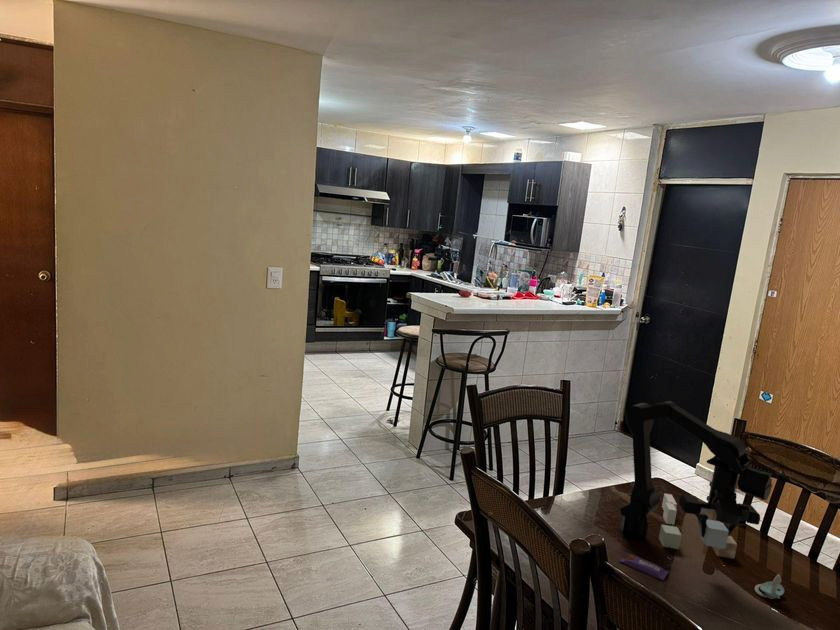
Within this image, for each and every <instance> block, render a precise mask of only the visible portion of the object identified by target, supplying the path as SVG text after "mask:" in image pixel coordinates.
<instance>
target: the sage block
mask: <svg viewBox="0 0 840 630" xmlns="http://www.w3.org/2000/svg"><path fill="white" fill-rule="evenodd" d="M659 529H660V530H659V536H658V540H659V542H660V544H661V546H662V547H664V548H669V547H670V548H669V549H674V550H675V549H676V550H679V549H680V545H681V542H682V541H681V540H682V533H681V531H680V530H679V528H678V527H677V526H674V525H668V524H667V525H666V524H661V525H660V528H659Z"/></svg>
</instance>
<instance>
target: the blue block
mask: <svg viewBox="0 0 840 630" xmlns="http://www.w3.org/2000/svg"><path fill="white" fill-rule="evenodd" d="M728 533H729V531H728V529H727V528H726V527H725V525H724V523H722V522H720V521H719V520H713V519H708V520H707V521H706V530H705V535H704V537H702V536H701V532H699V537H700V539H701V541H702V542H703V544H704V546H707V547H711V548H712V547H718V548H724V549H725V548H726V543H727V538H728Z"/></svg>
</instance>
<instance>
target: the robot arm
mask: <svg viewBox="0 0 840 630" xmlns="http://www.w3.org/2000/svg"><path fill="white" fill-rule="evenodd" d="M659 418H666V419H667V420H669V421H671V422H673V423H674V424H675V425H676V426H678V427H680V428H681V429H682V430H684V431H686V432H687V433H688V434H690V435H692V436H693V437H694V438H696V439H697V440H700V441H701V442H702V443H704V445H705V446H706V447H707V449H708V450H709V451H710V452H711V453H712V455H714V456H713V457H710V458H709V459H707V460H706V464H708V465H711V466H714V468H713V473H712V478H711V481H709V485H708V486H709V487H710V488H709V489H710V490H709V495H707V496H706V501H707V502H704V501H699V499H698V498H697V496H696V495H695V496H694V495H691V494H690V495H688V494H682V495H681V496H679V499H678V505H679V506H680V507H681V509H682V511H683V512H684V513H686V514H691V515H694V516H695V517H696V518H697V521H698V527H699V531H700V532H701V536H702V537H704V535H705V530H706V521H707V520H709V516H708V514H707V513H708V511H709V512H714V513H716V516H717V521H720V522H722V523H723V524H724V525H725V527H726V528H727V529H728V531H729V533H728V536H731V535H730V534H732V532H733V531H734V530H735V528H737V527H739V526H745V525H746V523H747V524H752V525H759V524H760V523H761V516H760V515H761V514H760V513H758V511H757V509H756V508H754V506H753V505H751V504H745V503H738V501H737V493H736V488H738V490H740V492H742V493H745V494H747V495H750V496H752V497H755V498H758V499H761V500H763V501H767V500H768V498H769V497H770V495H771V491H772V488H773V484H772V480H773V479H772V473H771V472H767V471H762V470H759V469H756V468H753V467H752V466H753V464H752V462H751V460H750V458H749V456H748V453H747V450H746V445H745V443H744V442H743V440H742V439H741V438H739V437H736V436H735V435H733V434H730V433H727V432H725V431H721V430H719V429H718V430H717V429H715V428H713V427H712V426H710V425H708V424H706V422H704V421H702V419H699V418H697V417H696V416H694V415H693V414H691V413H690V412H688V411H687V410H685V409H683V408H682V407H680V406H679V405H678V404H676V403H675V402H674V401H672V400H668V401H664V402H659V403H653V404H649V403H647V402H640V403H636V404H634V405H630V406H629V407H628V408H627V409H626V411H625V420H626V424H627V428H628V430H629V431H630V434H631V435H632V436H631V437H632V451H633V452H632V453H633V454H632V455H633V471H634V472H633V474H634V476H633V477H634V478H633V479H634V484H633V488H632V490H631V493H630V497H629V498H630V499H629V503H627V504H625V505H623V506H621V508H620V513H621V514H620V515H621V516H622V518H621V523H620V524H619V530H620V532H621V535H622V537H623V538H627V539H632V540H636V541H643V542H644V541H646V539H647V538H646V537H647V536H648V535H647V534H648V529H649V521H648V517H647V515H649V514H650V513H653V512H654V511H656V510H657V509H658V507H659V505H660V503H662V501H661V499H660V498H661V497H660V494H661V491H660V490H661V489H659V488H655V486H654V485H653V481H652V463H651V462H652V461H651V459H652V457H651V456H652V455H651V441H650V438H651V437H650V434H651V431H652V429H653V426H654V420H655V419H659ZM700 532H699V533H700Z"/></svg>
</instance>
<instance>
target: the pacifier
mask: <svg viewBox="0 0 840 630" xmlns="http://www.w3.org/2000/svg"><path fill="white" fill-rule="evenodd" d="M781 583H782V577H781V575H780V574H776V575H775V577H774V578H773V580H772V581H771V580H770V581H766V582H764V583H759V584H756V585H755V586H754V591H755V593H756V594H757V595H759V596H760V597H762V598H768V599H771V600H774V599H781V597H780V596H782V595H783V594H784V593H785V588H784V587H783V585H782V584H781ZM760 590H761V591H762V592H763V593H762V592H761V591H760Z"/></svg>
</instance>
